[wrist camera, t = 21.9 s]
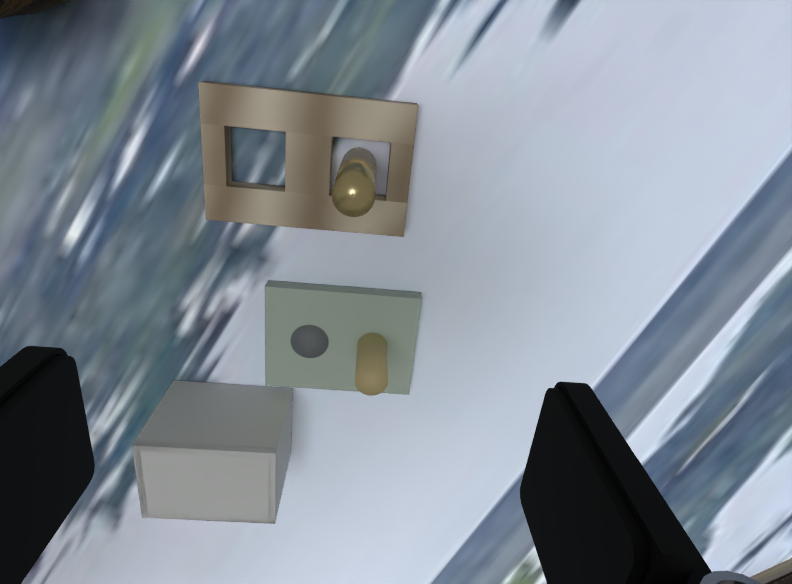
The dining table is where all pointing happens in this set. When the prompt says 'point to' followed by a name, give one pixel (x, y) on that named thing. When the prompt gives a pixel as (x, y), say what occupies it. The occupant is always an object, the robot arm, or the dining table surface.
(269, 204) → the board
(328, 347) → the pad
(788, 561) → the hardcover book
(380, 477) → the dining table surface
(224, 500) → the block
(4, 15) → the ceramic cup
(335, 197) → the brass pin
